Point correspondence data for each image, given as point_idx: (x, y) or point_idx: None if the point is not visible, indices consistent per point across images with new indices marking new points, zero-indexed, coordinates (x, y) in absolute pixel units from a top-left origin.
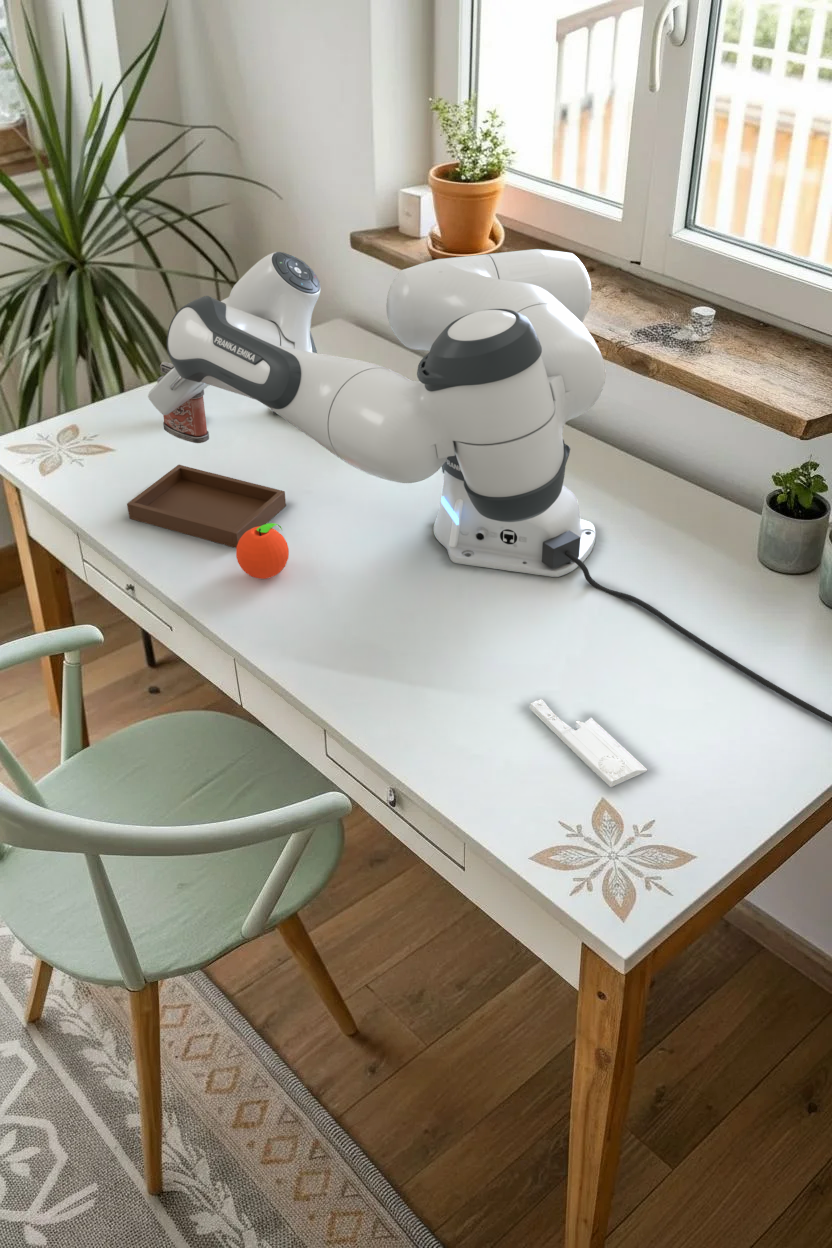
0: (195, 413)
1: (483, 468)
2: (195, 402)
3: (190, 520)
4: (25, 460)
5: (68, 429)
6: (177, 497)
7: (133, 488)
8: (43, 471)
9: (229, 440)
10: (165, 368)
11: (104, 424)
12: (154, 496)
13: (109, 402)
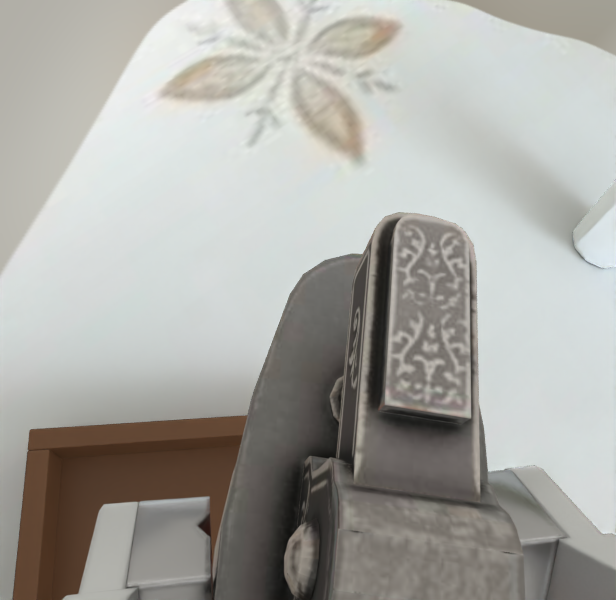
0: None
1: None
2: None
3: None
4: (204, 24)
5: (374, 25)
6: (223, 510)
7: (218, 330)
8: (179, 82)
9: (606, 400)
10: (364, 316)
11: (442, 74)
12: (172, 447)
13: (523, 31)
